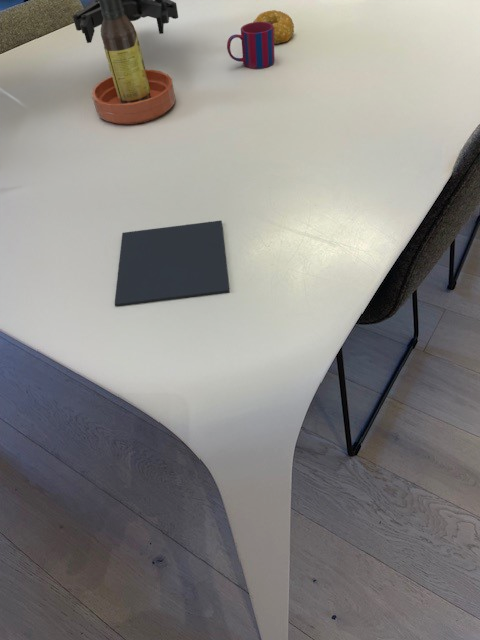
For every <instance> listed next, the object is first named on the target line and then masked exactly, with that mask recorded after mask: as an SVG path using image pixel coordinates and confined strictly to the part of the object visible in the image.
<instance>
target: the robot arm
mask: <svg viewBox="0 0 480 640" xmlns="http://www.w3.org/2000/svg"><path fill="white" fill-rule="evenodd" d="M121 1H122V5H123V8H124V14H125V15H126V17H127V18H128V19H129V20H130V21H131V22H135V21H138V20H140V19H141V18H147V17H149V18H153V19H156V23H157V27H158V29H157V30H158V34H159V35H163V34H164V25H165V24H169V23H170V18H171V19H175V20H176V19H178V18H179V11H178V5H177V3H176V1H173V0H121ZM101 12H102V11H101V7H100V4H99V0H93V1H92V3H91V4H90V5H88V6H86V7H85V8H83V9H81V10H79V11H77V12H76V13H74V14H73V15H72V19H73V23H74V27H75V30H76V31H78V32H79V31H81V33H82V34H83V35H84V37H85V40H86V43H87V44H90V43H92V42H93V37H94V34H95V28H97V27H99V26H101V25H102V22H103V16H102V14H101Z"/></svg>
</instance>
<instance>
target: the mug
mask: <svg viewBox="0 0 480 640" xmlns="http://www.w3.org/2000/svg"><path fill="white" fill-rule="evenodd" d="M237 38H238V39H240V40H241V51H242V52H241V53H242V57H237V56H234V55H233V54H232V51H231V43H232V41H233V40H234V39H237ZM226 49H227V53H228V56H229V58H231V59H232V60H234V61H236V62H241V63H243V66H244V67H246V68H249V69H253V70H254V69H255V70H256V69H257V70H258V69H260V70H261V69H265V68H268V67H271V66H272V65H273V64H274V63H275V44H274V26H273V25H272V24H271V23H268V22H254V21H253V22H249V23H246V24H244V25H242V26H241V28H240V34H232V35H231V36H229V38H228V40H227V42H226Z"/></svg>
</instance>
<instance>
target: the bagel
mask: <svg viewBox="0 0 480 640" xmlns="http://www.w3.org/2000/svg"><path fill="white" fill-rule="evenodd" d="M253 22H268V23H271V24H272V25H273V26H274V45H275V44H276V45H277V44H282V43H286V42H288V41H289V40H290V39H291V38H292V36H293V34H294V33H295V30H294V29H295V24H294V22H293V18H291V16H290V15H289V14H287V13H286V12H283V11H280V10H276V9H273V10H267V11H263V12H261V13H259V14H258V15H257V16H256V18H255V19H254V20H253Z"/></svg>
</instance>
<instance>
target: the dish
mask: <svg viewBox="0 0 480 640" xmlns="http://www.w3.org/2000/svg"><path fill="white" fill-rule="evenodd" d="M145 71H146V75H147V79H148V83H149V88H150V96H151V98H149V99H146V100H142V101H138V102H133V103H125V104H120V99H119V98H118V95H117V92H116V88H115V85H114V81H113V78H112V75H111V76H108V77H106V78H104V79H102V80H101V81H99V82H98V83H97V84H96V85H95V86H94V87H93V88H92V91H91V99H92V101H93V104H94V107H95V110H96V114H97V115H98V117H99V118H100V119H102V120H104V121H106V122H110V123H113V124H116V125H135V124H141V123H147V122H150V121H152V120H156V119H157V118H159V117H162V116H163V115H164V114H166V113H167V112H168V111H169V110H170V109H172V107H173V106H174V105H175V102H176V93H175V88H174V84H173V82H174V81H173V78H172V77H171V76H170V75H169V74H168V73H165V72H163V71H160V70H156V69H155V70H154V69H145Z"/></svg>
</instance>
